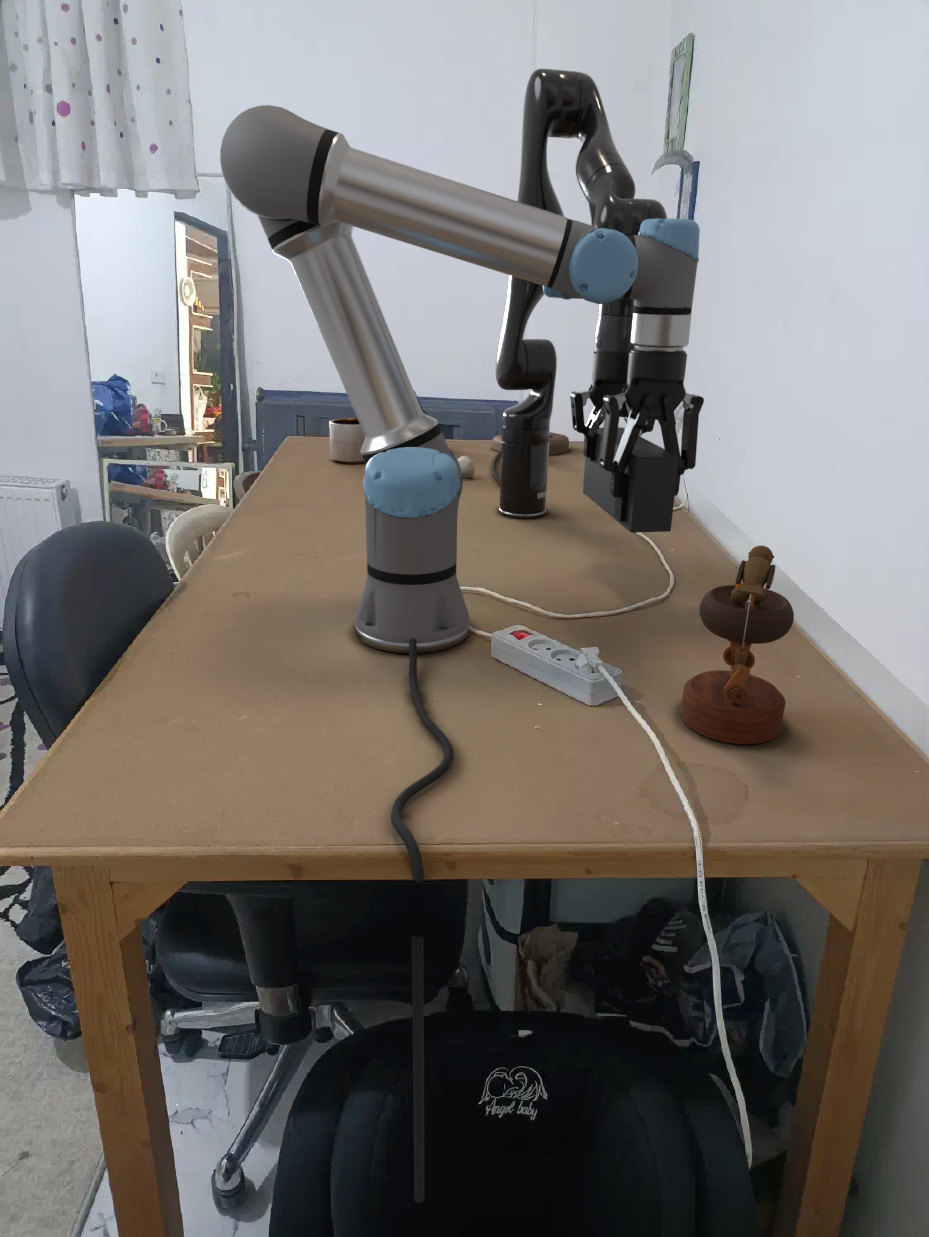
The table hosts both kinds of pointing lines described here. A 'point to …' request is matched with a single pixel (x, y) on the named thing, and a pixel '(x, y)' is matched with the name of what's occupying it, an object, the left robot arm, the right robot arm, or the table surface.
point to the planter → (346, 440)
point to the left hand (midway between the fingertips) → (641, 518)
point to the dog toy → (466, 466)
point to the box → (637, 485)
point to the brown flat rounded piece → (556, 443)
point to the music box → (740, 658)
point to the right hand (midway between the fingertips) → (610, 459)
